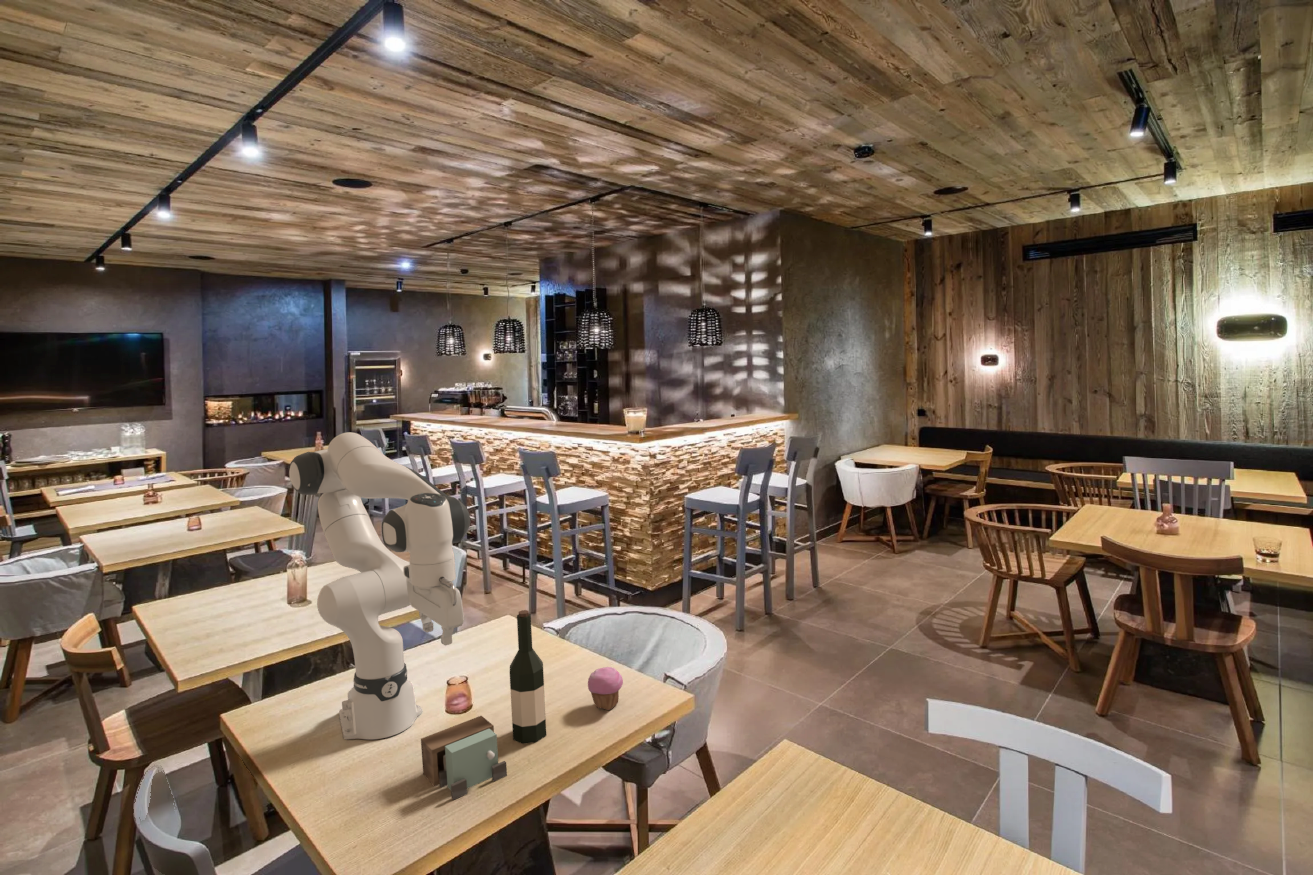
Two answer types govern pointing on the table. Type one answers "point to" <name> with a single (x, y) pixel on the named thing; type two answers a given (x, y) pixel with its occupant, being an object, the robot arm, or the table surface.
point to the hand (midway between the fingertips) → (437, 637)
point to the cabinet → (437, 759)
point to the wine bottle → (527, 687)
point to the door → (472, 758)
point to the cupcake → (605, 687)
